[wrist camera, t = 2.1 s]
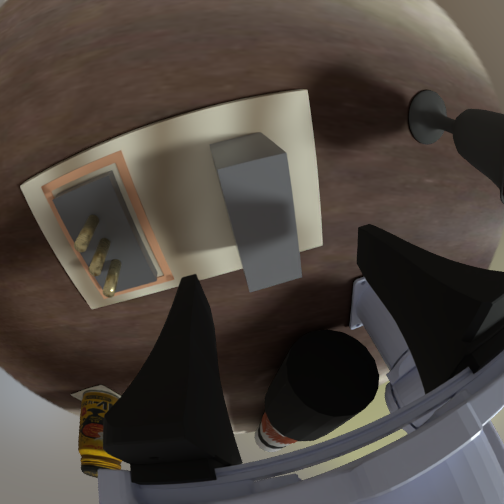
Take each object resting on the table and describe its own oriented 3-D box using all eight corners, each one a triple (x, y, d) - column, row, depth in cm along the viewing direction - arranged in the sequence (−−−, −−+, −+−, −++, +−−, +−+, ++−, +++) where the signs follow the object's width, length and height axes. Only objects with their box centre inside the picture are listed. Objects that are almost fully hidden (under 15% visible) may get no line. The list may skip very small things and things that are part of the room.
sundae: (406, 163, 21) (547, 269, 9) (393, 87, 17) (577, 159, 5) (453, 143, 20) (579, 226, 8) (445, 76, 16) (597, 136, 4)
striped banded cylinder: (248, 414, 51) (232, 456, 43) (296, 318, 30) (274, 402, 22) (294, 427, 50) (282, 470, 42) (379, 342, 29) (376, 424, 21)
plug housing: (260, 132, 16) (286, 152, 12) (278, 233, 21) (301, 276, 17) (209, 144, 16) (217, 169, 12) (236, 245, 21) (250, 292, 17)
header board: (301, 88, 16) (338, 95, 12) (317, 238, 23) (344, 276, 19) (26, 180, 15) (-9, 213, 11) (94, 301, 22) (83, 345, 18)
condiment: (101, 383, 29) (97, 469, 20) (143, 407, 34) (148, 483, 25) (70, 393, 30) (63, 469, 20) (111, 415, 35) (111, 483, 25)
